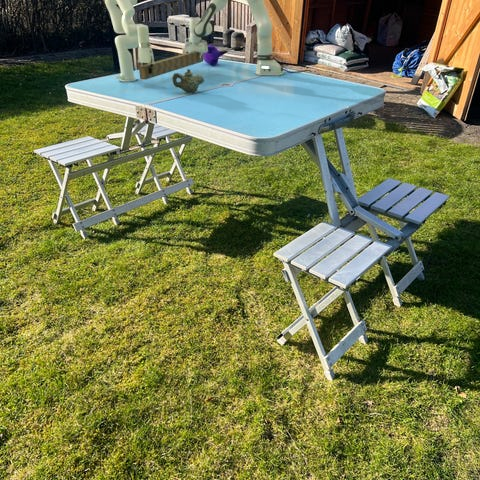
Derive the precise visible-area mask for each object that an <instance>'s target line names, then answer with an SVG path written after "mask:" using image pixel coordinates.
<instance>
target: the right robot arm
mask: <svg viewBox="0 0 480 480" xmlns="http://www.w3.org/2000/svg"><path fill="white" fill-rule="evenodd" d="M228 1H229V0H210V1H209V3H208V5H207V8H205V11H204V12H203V14H202V16H201V18H200V17H199V16H195V17H190V19H189V21H188V22H189V23H188V25H189V27H188V28H189V37H188V38H185V39H184V51H185V52H186V53H189V52H193V51H194V52H199V53H200V56H199V58H200V59H201V56H202V53H207V52H208V47H207V46H208V42H207V41H206V39H202V38H204V37H206V36H209V35H211V34H212V32H213V25H212V23H210V22H211V20H212V18H213V16H214V15H216V14H217V13H218V12H220V11H222V10H224V8H225V7H226V5H227V3H228ZM246 1H247V4H248V7H249V9H250V12H251V15H252V18H253V21H254V24H255V26H256V35H257V37H256V38H257V39H256V40H257V41H256V42H257V54H256V68H255V75H259V76H273V77H275V76H282V75H285V72H287V73H290V74H294V73H303V72H310V73H312V70H311V69H304V70H297V71H289V70H288V69H284V66H281V64H280V63H278V62H277V60H275V55H274V54H272V53H273V51H272V49H273V39H272V33H273V29H274V28H273V23H272V20H271V17H270V15H269V13H268V9H267V6H266V4H265V1H264V0H246ZM284 71H285V72H284Z"/></svg>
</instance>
